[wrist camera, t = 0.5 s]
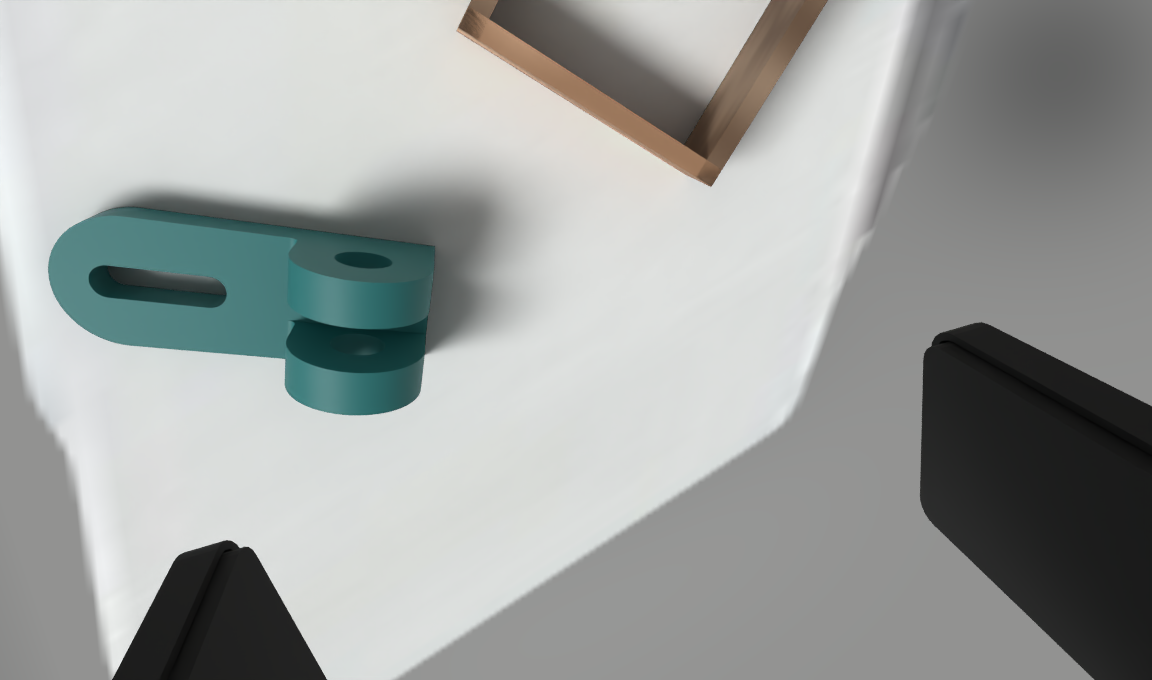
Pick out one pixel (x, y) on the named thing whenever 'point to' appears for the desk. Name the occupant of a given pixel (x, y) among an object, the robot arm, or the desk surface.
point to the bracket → (259, 300)
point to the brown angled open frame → (697, 158)
